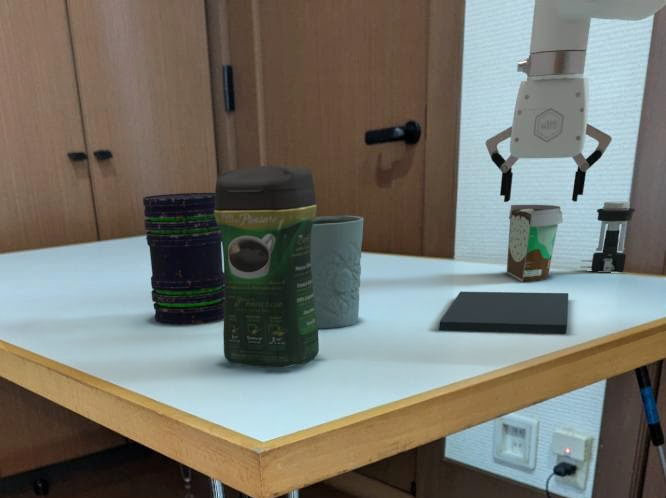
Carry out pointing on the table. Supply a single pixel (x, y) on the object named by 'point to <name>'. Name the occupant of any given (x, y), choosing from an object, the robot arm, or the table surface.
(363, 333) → the table surface
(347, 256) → the grey embossed cup
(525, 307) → the mat
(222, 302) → the storage jar
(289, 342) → the coffee jar
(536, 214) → the food container
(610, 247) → the black and grey device
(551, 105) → the robot arm
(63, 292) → the table surface
